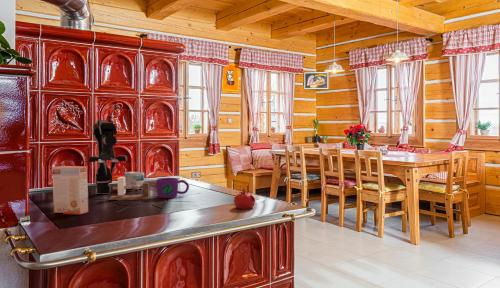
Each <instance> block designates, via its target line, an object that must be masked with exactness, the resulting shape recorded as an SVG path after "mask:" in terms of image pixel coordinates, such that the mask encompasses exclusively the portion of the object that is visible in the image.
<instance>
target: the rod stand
mask: <svg viewBox="0 0 500 288" xmlns="http://www.w3.org/2000/svg"><path fill="white" fill-rule="evenodd" d="M138 188H142V190H141V191H142V194H124V195H111V196H110V197H109V198H108V201H109V200H118V201H134V200H149V199H150V196H151V195H150V182H148V181H146V182H145V181H144V183H143V184H142V185H138V186H135V185H132V186H124V189H138ZM112 190H118V185H117V186H116V185H115V186H114V185H113V186H112Z"/></svg>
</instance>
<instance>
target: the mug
mask: <svg viewBox="0 0 500 288" xmlns="http://www.w3.org/2000/svg"><path fill="white" fill-rule="evenodd" d="M181 183H184V185H185V186H186V187H185V190H183V191H180V190H179V184H181ZM189 189H190V185H189V183H188V182H187V180H185V179H180V180H179V179H178V178H176V177H162V178H161V177H160V178H158V179H156V194H157V197H158V198H159V199H166V200H168V199H175V198H176V197H177V196H178V194H179V195H185V194H187V193H188V191H189Z"/></svg>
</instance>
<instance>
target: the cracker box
mask: <svg viewBox="0 0 500 288" xmlns="http://www.w3.org/2000/svg"><path fill="white" fill-rule="evenodd" d="M51 169H52V170H51V171H52V188H53V189H52V199H53V203H52V204H53V214H54V213H63V214H62V215H82V214H86V213H89V190H88V188H89V187H88V166H86V165H85V166H83V165H82V166H80V165H79V166H78V165H77V166H76V165H65V166H64V165H62V166H61V165H60V166H53V167H52V168H51Z"/></svg>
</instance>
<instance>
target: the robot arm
mask: <svg viewBox="0 0 500 288" xmlns="http://www.w3.org/2000/svg"><path fill="white" fill-rule="evenodd" d="M117 134H118V130H117V126H116V124H115V123H114V122H112V121H108V120H107V119H97V120H96V123H95V124H93V126H92V135H93V138H94V140H95V141H96V143H97V155H96V156H95V155H92V156H89V157H88V163H95V162H97V164H98V167H97V170H96V173H95V176H94V185H96V192H97V193H101V194H102V193H110V194H111V192H112V191H111V185H110V184H113V172H114V169H115V166H116V164H117V163H119V162H127V161H128V156H127V155H118V156H116V151H115V149H114V147H115V145H116V144H117V141H118V140H117V137H116V136H115V135H117ZM107 161H111V162H110V167H109V166H108V165H107ZM97 193H96V194H97Z"/></svg>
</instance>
